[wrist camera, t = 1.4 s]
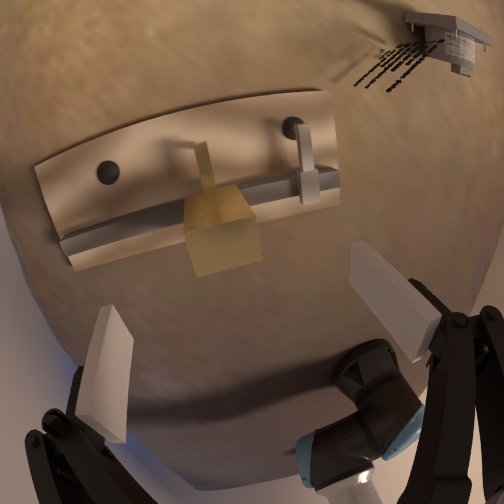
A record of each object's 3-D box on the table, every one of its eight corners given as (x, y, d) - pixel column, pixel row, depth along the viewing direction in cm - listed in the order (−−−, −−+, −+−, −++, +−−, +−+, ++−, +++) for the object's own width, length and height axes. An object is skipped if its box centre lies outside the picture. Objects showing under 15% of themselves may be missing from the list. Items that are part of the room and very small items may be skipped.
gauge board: (334, 200, 34) (352, 213, 30) (78, 265, 30) (67, 285, 26) (324, 91, 27) (343, 89, 23) (40, 164, 23) (21, 173, 19)
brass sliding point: (238, 211, 29) (263, 260, 20) (193, 222, 29) (196, 277, 20) (223, 135, 25) (243, 146, 16) (174, 146, 25) (163, 164, 16)
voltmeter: (423, -1, 20) (468, -9, 12) (458, 55, 25) (502, 58, 17) (323, 74, 26) (374, 65, 17) (376, 143, 31) (430, 159, 23)
